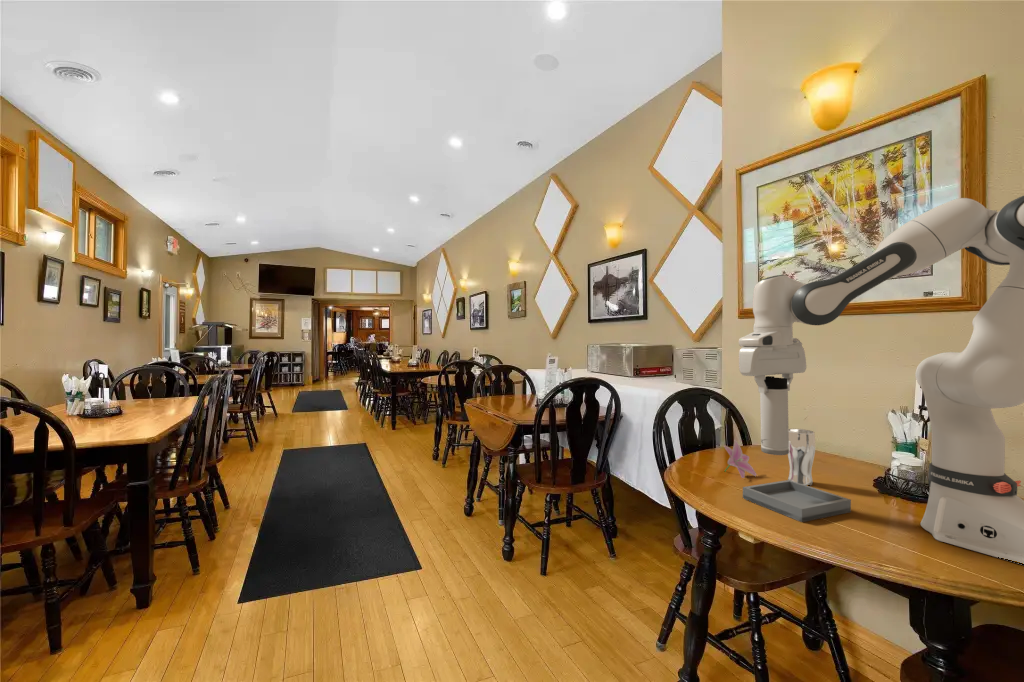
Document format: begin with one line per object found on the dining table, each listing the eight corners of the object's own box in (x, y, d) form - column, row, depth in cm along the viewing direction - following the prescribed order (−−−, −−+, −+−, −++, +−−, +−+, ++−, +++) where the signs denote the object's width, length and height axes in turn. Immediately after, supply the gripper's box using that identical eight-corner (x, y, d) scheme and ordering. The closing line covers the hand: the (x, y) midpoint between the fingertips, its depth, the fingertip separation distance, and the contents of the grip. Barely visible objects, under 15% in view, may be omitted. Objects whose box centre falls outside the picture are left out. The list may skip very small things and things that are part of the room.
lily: (720, 483, 134) (737, 458, 131) (703, 457, 145) (718, 434, 141) (754, 493, 136) (772, 468, 133) (734, 467, 147) (750, 444, 144)
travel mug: (757, 452, 118) (756, 375, 118) (765, 448, 122) (764, 374, 122) (784, 457, 113) (783, 377, 113) (791, 451, 118) (790, 375, 118)
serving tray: (850, 512, 110) (850, 499, 109) (801, 522, 103) (801, 509, 103) (788, 490, 124) (788, 479, 124) (742, 498, 118) (742, 487, 118)
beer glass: (820, 486, 128) (821, 433, 128) (795, 486, 128) (796, 433, 128) (804, 478, 135) (805, 428, 135) (781, 478, 135) (782, 428, 135)
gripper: (789, 338, 124) (791, 388, 124) (733, 339, 117) (735, 393, 117) (812, 337, 119) (813, 390, 119) (754, 339, 111) (756, 395, 111)
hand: (774, 391), depth 118 cm, fingers closed on travel mug, 6 cm apart
